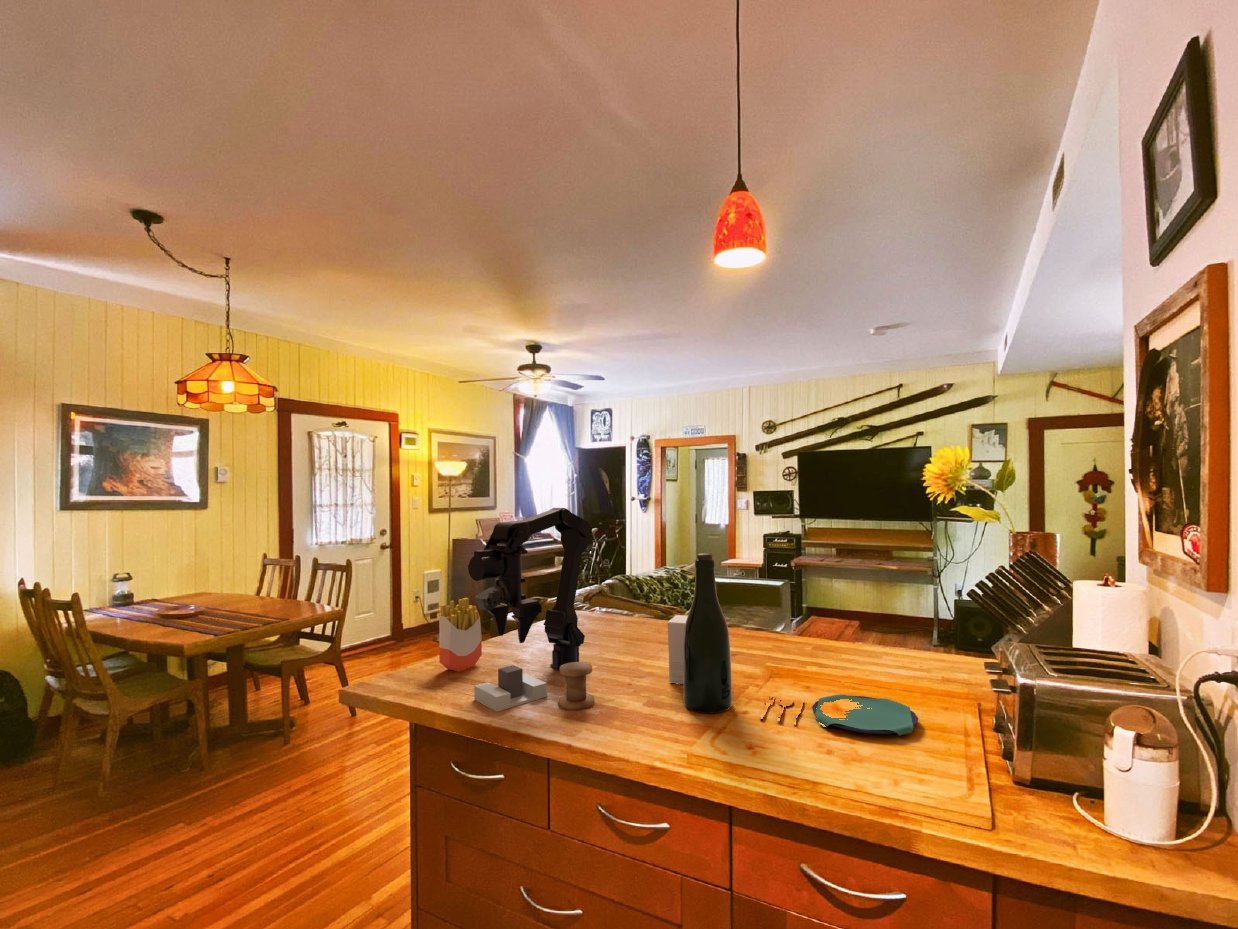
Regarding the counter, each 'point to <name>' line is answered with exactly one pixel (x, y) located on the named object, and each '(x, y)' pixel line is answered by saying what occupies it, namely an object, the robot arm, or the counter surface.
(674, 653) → the supplement box
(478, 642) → the french fries container
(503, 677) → the block
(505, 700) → the notched board
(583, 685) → the bobbin
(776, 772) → the counter surface
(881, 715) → the teal oval plate
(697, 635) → the wine bottle
